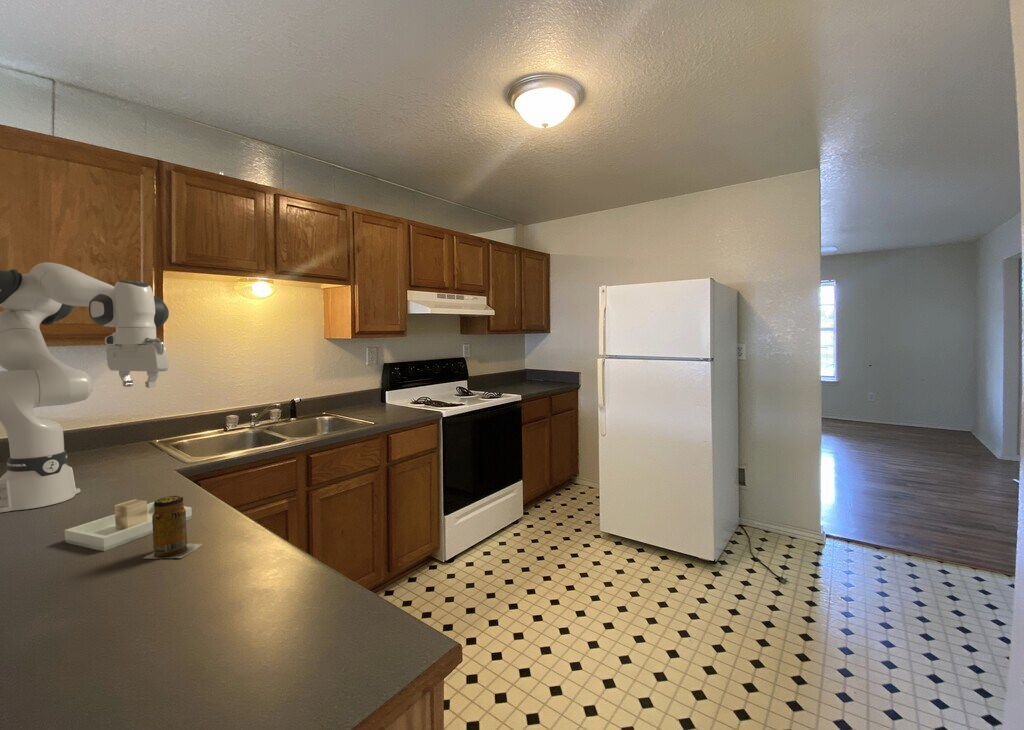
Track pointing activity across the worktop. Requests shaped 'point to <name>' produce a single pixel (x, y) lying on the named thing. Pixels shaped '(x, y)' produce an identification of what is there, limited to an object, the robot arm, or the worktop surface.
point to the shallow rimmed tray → (111, 531)
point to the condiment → (170, 529)
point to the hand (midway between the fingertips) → (139, 387)
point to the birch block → (130, 514)
